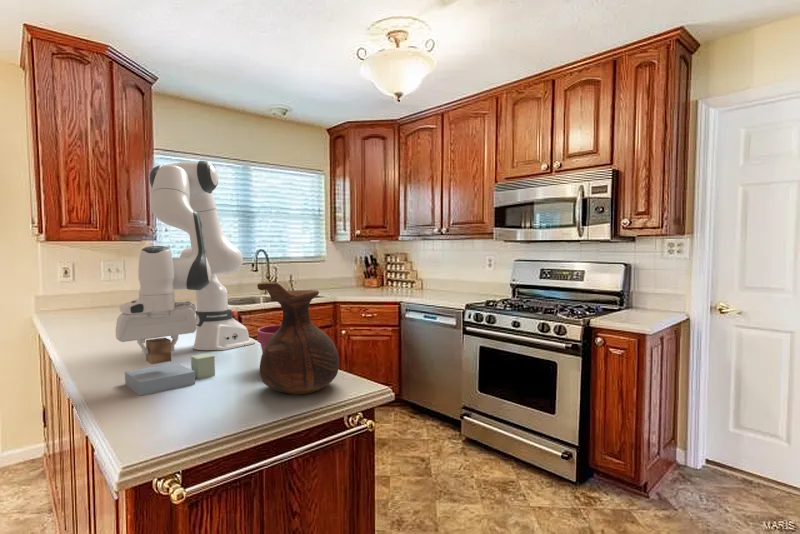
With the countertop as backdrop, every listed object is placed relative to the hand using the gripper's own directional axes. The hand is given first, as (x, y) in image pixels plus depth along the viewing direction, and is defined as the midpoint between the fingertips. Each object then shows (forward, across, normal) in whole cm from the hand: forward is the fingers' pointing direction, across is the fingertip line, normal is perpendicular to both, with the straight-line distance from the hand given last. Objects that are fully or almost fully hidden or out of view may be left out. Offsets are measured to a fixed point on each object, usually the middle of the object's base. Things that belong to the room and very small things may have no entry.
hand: (158, 352), depth 129 cm
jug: (+9, -26, +31) cm, 42 cm away
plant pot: (+9, -33, +9) cm, 36 cm away
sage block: (+9, -12, 0) cm, 15 cm away
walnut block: (+2, 0, 0) cm, 2 cm away
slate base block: (+9, 0, 0) cm, 9 cm away
